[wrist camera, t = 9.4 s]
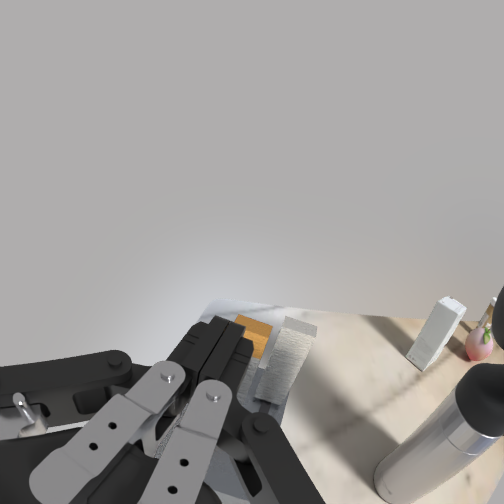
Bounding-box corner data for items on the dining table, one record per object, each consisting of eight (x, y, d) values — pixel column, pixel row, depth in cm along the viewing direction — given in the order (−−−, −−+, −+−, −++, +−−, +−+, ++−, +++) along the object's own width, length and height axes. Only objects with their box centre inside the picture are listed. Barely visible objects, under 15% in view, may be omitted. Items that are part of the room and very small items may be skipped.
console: (222, 371, 42) (227, 352, 40) (284, 393, 41) (293, 375, 39) (163, 479, 24) (162, 467, 22) (247, 511, 22) (257, 502, 20)
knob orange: (219, 386, 34) (238, 314, 29) (246, 396, 33) (272, 326, 28) (213, 397, 32) (232, 325, 27) (241, 408, 32) (268, 338, 27)
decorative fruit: (457, 344, 62) (476, 314, 58) (478, 355, 58) (497, 326, 54) (457, 361, 55) (478, 329, 51) (480, 374, 51) (502, 343, 47)
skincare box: (422, 372, 50) (459, 316, 44) (403, 356, 54) (437, 299, 48) (436, 360, 54) (469, 307, 48) (418, 345, 59) (449, 293, 53)
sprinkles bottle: (481, 343, 64) (504, 306, 59) (471, 336, 67) (493, 299, 61) (482, 337, 67) (503, 301, 62) (472, 331, 70) (492, 295, 65)
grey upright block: (257, 386, 35) (285, 315, 31) (283, 394, 35) (317, 326, 30) (253, 396, 34) (282, 326, 29) (280, 405, 33) (315, 337, 28)
